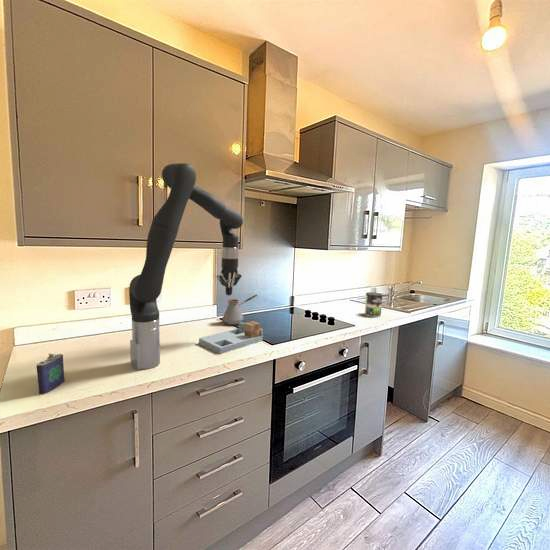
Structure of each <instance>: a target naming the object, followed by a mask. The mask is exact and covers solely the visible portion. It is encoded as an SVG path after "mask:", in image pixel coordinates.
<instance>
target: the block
mask: <svg viewBox="0 0 550 550" xmlns="http://www.w3.org/2000/svg"><path fill="white" fill-rule="evenodd" d="M244 323H245V333H244V336H247V337H249V338H255V337H259V336H260V329H261V323H260V322H257V321H254V320H252V321H246V322H244Z"/></svg>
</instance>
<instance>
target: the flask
mask: <svg viewBox="0 0 550 550" xmlns="http://www.w3.org/2000/svg"><path fill="white" fill-rule="evenodd" d="M47 355H48V357H47V358H46V359H44V361H43V360H41V361H40V362H38V363H37V364H36V374H37V384H38V394H39V395H46V394H47V393H50V392H51V391H53V390H55V389H56V388H58V387H60V386H61V385H62V384H63V383H64V382H65V379H66V378H65V370H64V368H65V367H64V365H65V364H64V355H63V354H62V353H59V354H58V353H57V354H56V353H47Z"/></svg>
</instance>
